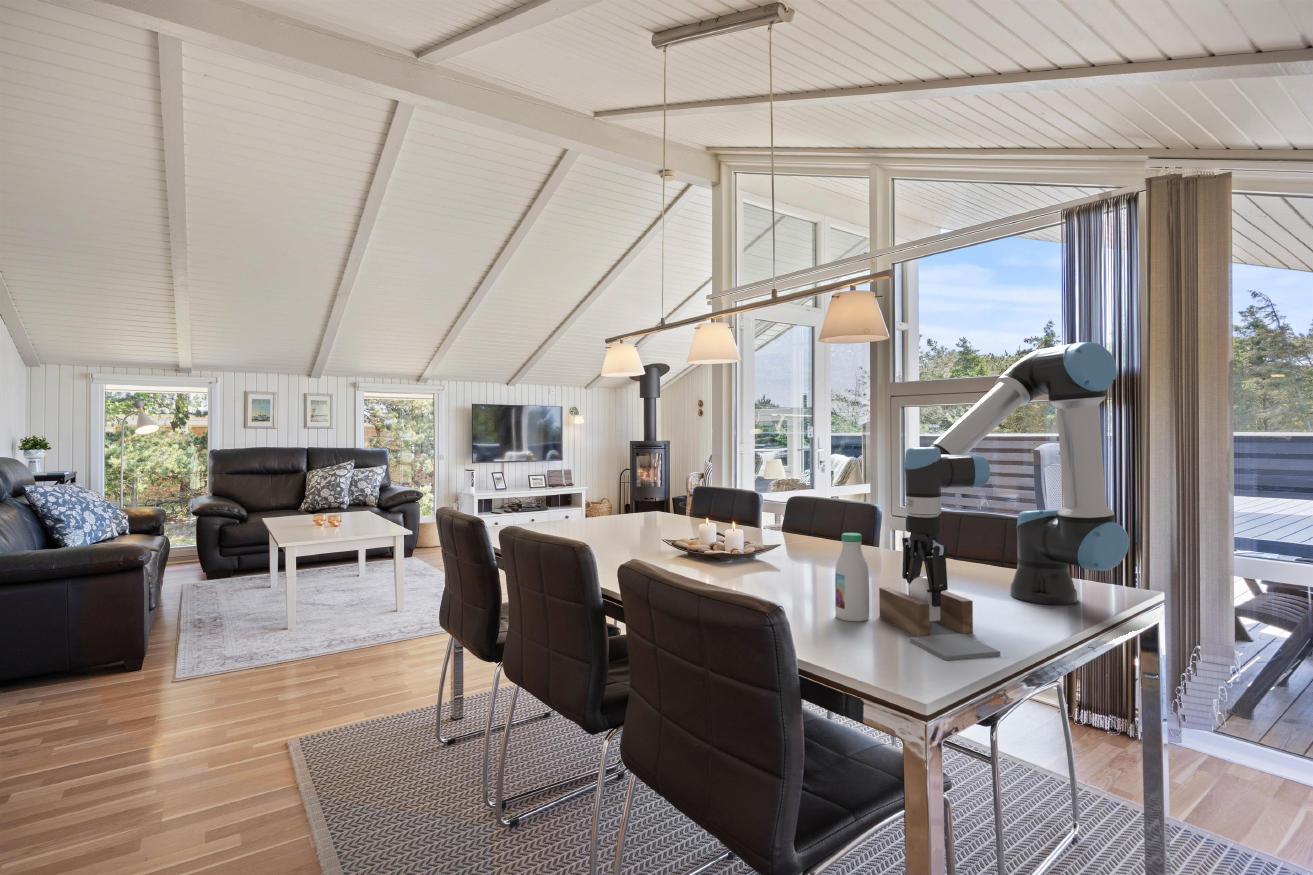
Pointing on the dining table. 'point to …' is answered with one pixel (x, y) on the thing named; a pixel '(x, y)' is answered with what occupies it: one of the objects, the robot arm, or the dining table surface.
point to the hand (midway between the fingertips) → (924, 615)
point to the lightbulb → (919, 588)
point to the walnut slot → (925, 612)
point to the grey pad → (954, 646)
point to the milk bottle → (852, 581)
